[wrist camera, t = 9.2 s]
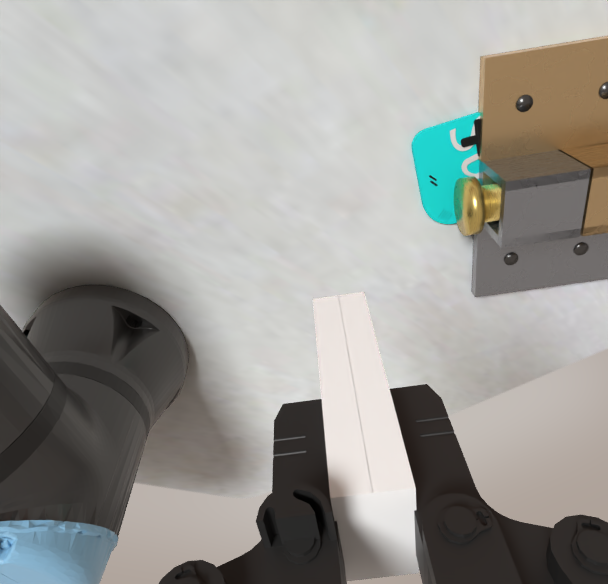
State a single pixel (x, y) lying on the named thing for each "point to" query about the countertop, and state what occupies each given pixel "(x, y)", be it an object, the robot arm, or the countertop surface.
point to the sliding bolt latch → (544, 167)
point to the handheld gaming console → (446, 163)
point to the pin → (475, 204)
